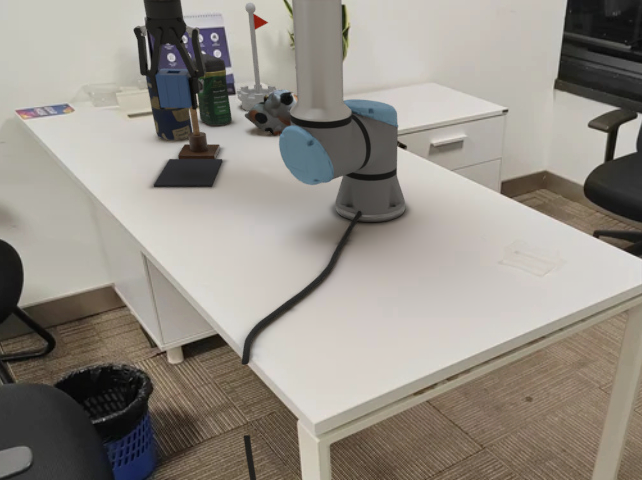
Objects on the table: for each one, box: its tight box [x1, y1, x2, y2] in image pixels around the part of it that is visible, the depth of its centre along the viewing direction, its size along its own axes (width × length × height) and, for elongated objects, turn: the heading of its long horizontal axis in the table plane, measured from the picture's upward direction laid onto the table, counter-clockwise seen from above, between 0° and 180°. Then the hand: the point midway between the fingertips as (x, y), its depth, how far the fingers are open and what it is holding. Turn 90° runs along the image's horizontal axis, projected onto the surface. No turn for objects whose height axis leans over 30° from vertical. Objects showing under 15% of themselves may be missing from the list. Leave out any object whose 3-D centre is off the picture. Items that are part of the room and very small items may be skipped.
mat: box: [153, 158, 223, 188], centre depth 167 cm, size 18×13×1 cm
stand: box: [177, 106, 221, 159], centre depth 175 cm, size 9×9×16 cm
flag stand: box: [236, 2, 280, 112], centre depth 210 cm, size 13×13×30 cm
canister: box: [145, 68, 193, 141], centre depth 185 cm, size 10×10×18 cm
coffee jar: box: [191, 53, 233, 126], centre depth 198 cm, size 10×8×19 cm
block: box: [155, 67, 192, 109], centre depth 156 cm, size 6×6×7 cm
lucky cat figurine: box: [244, 88, 298, 136], centre depth 196 cm, size 15×12×14 cm
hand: (179, 107), depth 158 cm, fingers closed on block, 6 cm apart
